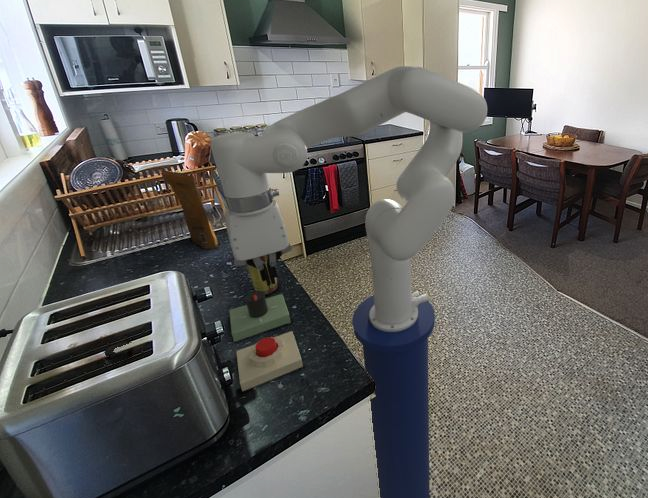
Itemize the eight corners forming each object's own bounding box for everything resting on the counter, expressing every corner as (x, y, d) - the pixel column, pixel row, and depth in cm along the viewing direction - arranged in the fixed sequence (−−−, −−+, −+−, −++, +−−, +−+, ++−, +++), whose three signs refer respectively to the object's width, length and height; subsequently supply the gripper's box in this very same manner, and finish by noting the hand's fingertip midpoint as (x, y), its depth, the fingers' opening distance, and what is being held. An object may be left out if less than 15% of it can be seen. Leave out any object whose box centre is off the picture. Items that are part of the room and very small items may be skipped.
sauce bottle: (273, 280, 105) (260, 222, 97) (281, 290, 101) (268, 229, 93) (250, 290, 101) (235, 229, 93) (258, 299, 97) (242, 237, 89)
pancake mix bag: (205, 254, 120) (182, 177, 109) (181, 240, 130) (157, 168, 119) (225, 246, 125) (204, 172, 114) (200, 233, 135) (179, 163, 124)
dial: (248, 310, 89) (243, 293, 87) (266, 304, 91) (262, 287, 89) (250, 320, 85) (245, 302, 83) (269, 313, 88) (265, 296, 85)
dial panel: (283, 301, 96) (282, 293, 95) (290, 322, 88) (289, 314, 87) (231, 317, 90) (229, 309, 89) (234, 342, 82) (231, 333, 81)
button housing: (293, 337, 83) (290, 324, 82) (303, 366, 75) (300, 352, 74) (238, 358, 78) (234, 344, 76) (242, 391, 70) (237, 377, 68)
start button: (275, 340, 78) (273, 334, 77) (278, 352, 74) (276, 346, 74) (256, 347, 76) (254, 341, 75) (258, 360, 73) (256, 353, 72)
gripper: (287, 186, 71) (302, 262, 78) (203, 203, 64) (229, 284, 71) (295, 197, 65) (311, 278, 72) (203, 217, 58) (232, 304, 65)
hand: (270, 281), depth 72 cm, fingers closed
